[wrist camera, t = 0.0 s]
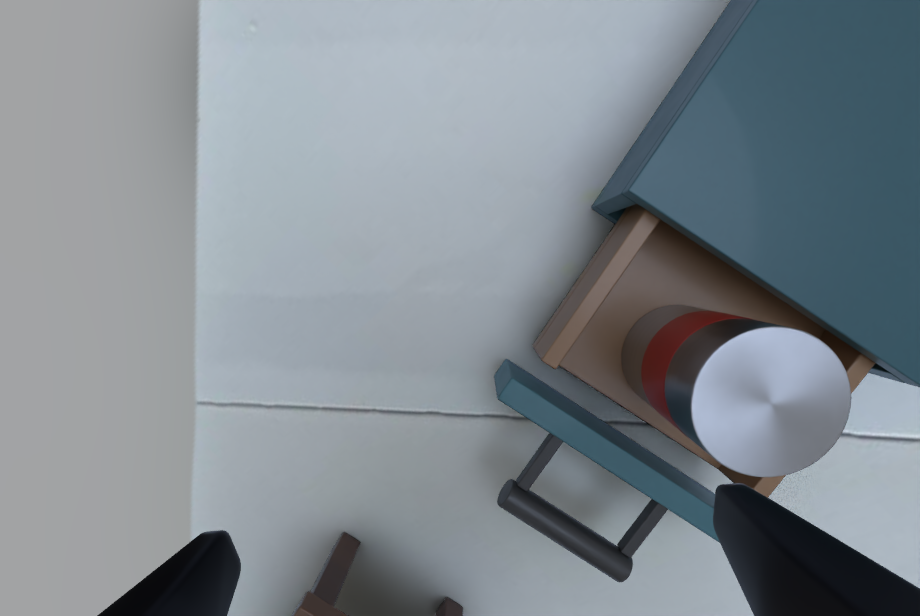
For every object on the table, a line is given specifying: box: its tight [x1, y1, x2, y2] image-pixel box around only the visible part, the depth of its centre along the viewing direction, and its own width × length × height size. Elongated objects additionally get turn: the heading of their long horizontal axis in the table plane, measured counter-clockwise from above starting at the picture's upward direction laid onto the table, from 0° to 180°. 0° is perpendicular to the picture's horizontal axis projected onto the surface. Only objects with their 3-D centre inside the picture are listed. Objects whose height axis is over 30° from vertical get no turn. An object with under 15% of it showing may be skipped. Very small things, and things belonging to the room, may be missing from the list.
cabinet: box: [591, 0, 920, 387], centre depth 19 cm, size 16×15×6 cm
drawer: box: [494, 204, 875, 582], centre depth 20 cm, size 19×13×4 cm
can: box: [621, 305, 851, 477], centre depth 18 cm, size 5×5×7 cm
